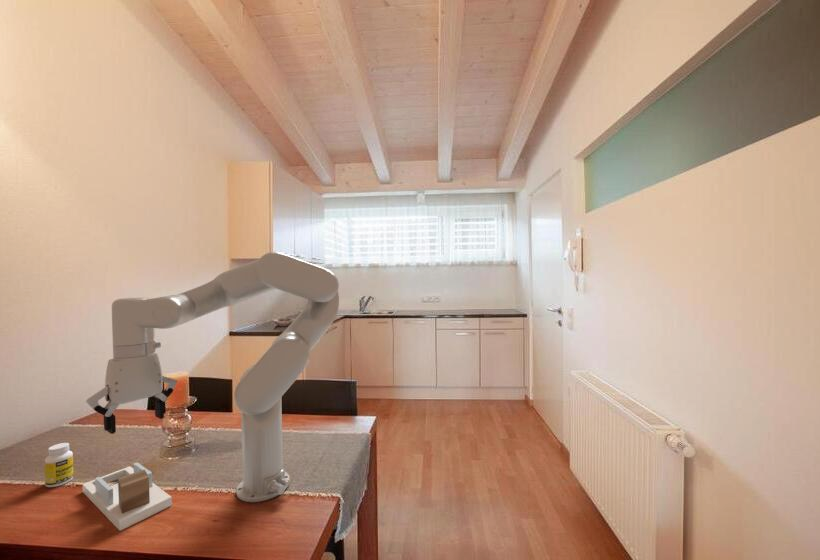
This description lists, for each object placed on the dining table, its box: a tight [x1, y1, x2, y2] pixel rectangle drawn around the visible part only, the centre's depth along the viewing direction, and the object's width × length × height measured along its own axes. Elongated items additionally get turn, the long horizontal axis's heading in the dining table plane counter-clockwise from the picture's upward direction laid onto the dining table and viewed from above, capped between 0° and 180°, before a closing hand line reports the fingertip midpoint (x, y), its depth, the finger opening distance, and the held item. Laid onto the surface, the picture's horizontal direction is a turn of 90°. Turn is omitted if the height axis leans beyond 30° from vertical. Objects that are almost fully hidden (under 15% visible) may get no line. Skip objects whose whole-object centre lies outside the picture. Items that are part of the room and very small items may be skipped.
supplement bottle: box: [44, 442, 74, 488], centre depth 95 cm, size 5×5×10 cm
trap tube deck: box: [82, 462, 173, 531], centre depth 87 cm, size 26×10×6 cm, turn 56°
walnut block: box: [118, 469, 150, 513], centre depth 82 cm, size 5×5×6 cm
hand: (136, 424), depth 82 cm, fingers open, 9 cm apart
